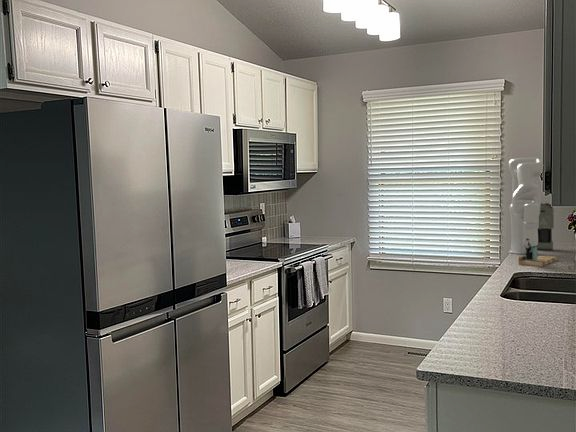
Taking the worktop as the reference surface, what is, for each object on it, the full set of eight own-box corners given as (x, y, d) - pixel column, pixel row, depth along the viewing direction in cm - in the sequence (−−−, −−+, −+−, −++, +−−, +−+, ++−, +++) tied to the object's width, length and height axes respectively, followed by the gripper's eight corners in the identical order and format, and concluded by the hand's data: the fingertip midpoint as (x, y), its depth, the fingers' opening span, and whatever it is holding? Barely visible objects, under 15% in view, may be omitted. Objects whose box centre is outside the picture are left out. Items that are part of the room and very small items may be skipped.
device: (553, 249, 358) (554, 202, 355) (552, 250, 351) (552, 203, 349) (530, 248, 365) (530, 202, 363) (528, 249, 359) (528, 203, 356)
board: (534, 258, 324) (534, 251, 324) (556, 260, 316) (556, 253, 315) (518, 264, 307) (518, 256, 307) (541, 266, 299) (541, 258, 298)
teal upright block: (528, 258, 312) (528, 246, 311) (537, 259, 309) (537, 246, 308) (525, 260, 308) (525, 247, 308) (533, 260, 305) (533, 248, 305)
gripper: (530, 224, 316) (530, 255, 317) (518, 226, 303) (518, 260, 305) (543, 224, 310) (543, 257, 312) (532, 227, 298) (532, 261, 300)
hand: (531, 258), depth 308 cm, fingers closed on teal upright block, 5 cm apart
